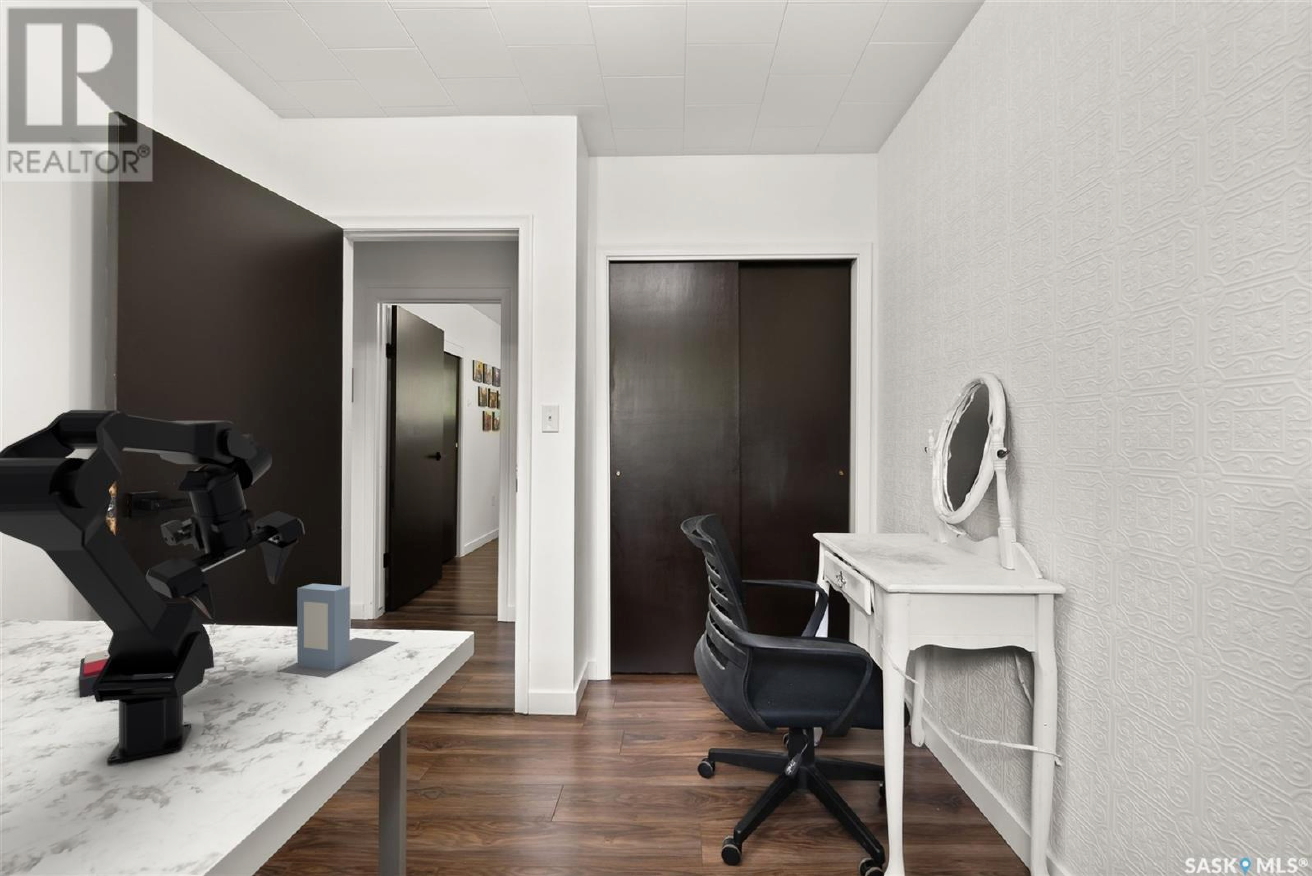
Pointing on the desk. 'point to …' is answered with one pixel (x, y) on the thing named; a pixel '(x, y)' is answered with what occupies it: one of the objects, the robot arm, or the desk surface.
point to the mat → (358, 652)
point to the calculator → (96, 662)
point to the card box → (323, 626)
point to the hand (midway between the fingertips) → (243, 599)
